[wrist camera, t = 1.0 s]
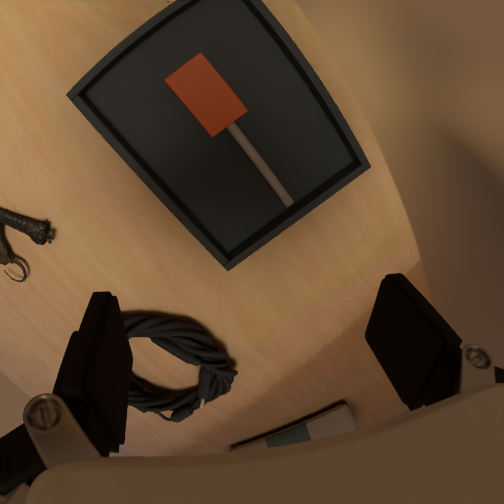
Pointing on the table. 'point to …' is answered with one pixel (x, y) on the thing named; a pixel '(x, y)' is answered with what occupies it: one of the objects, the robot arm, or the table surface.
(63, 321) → the table surface
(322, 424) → the radio
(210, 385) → the cable
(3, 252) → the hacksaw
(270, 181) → the screwdriver
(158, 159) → the tray
